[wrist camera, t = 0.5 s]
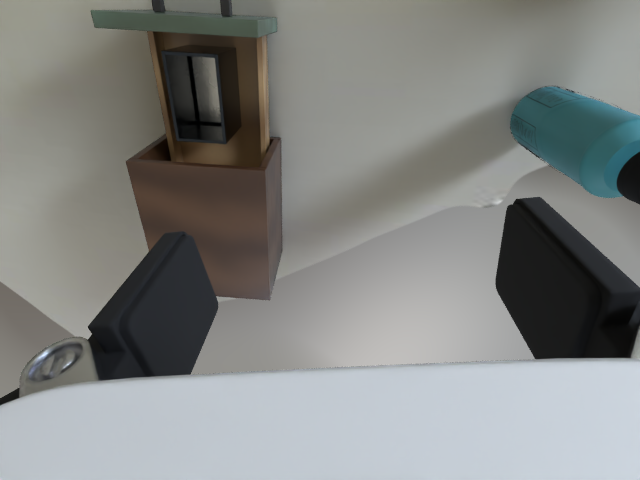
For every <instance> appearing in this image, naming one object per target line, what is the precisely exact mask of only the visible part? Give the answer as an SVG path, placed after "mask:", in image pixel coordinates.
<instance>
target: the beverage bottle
mask: <svg viewBox="0 0 640 480" xmlns="http://www.w3.org/2000/svg"><path fill="white" fill-rule="evenodd" d="M561 88H562V87H561ZM566 90H568V89H566ZM566 90H563V89H560V87H558V86H554V87H546V86H545V87H544V88H539V89H537V90H535V91H533V92H531V93H529V94H528V95H526V96H525V97H524V98H523V99H522V100H521V101H520V102H519V103H518V104H517V106H516V107H515V109H514V111H513V113H512V116H511V121H510V129H511V131H512V133H511V134H513V136H514V137H515V138H514V139H516V140H517V141H516V142H517V143H519V144H521V146H522V147H525V149H526V150H529V151H530V150H531V151H530V152H531V153H533V152H534V153H535V154H534V153H533V154H534V155H536V157H538V158H539V159H540V157H541V158H542V159H543V160H545V161H546V162H547V163H548V164H549V165H552V166H553V167H555V168H556V169H558V170H559V171H561V172H563V173H564V174H565V175H567V176H568V177H570V178H571V179H573V180H574V181H575V182H577V183H578V184H580V185H581V186H583V188H584V189H585V190H587V191H588V192H589V193H591V194H593V195H595V196H598V197H604V198H615V197H621V196H624V197H626V198H627V199H629V200H631V201H634V202H636V203H638V204H640V116H639V115H636V114H633V113H630V112H627V111H624V110H622V109H621V108H620V109H619V108H616V107H613V106H611V105H609V104H606V103H603V102H600V101H601V100H600V99H599V100H600V101H597V100H596V99H595V100H594V99H592V98H588V97H585V96H582V95H578V94H575V93H574V91H573V90H572V92H573V93H572V92H571V91H570V90H569V91H570V92H569V91H566ZM575 92H576V91H575ZM577 93H579V92H577ZM594 98H595V97H594ZM617 107H618V106H617ZM537 155H538V156H537ZM542 159H540V160H542ZM544 163H545V162H544Z"/></svg>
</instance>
